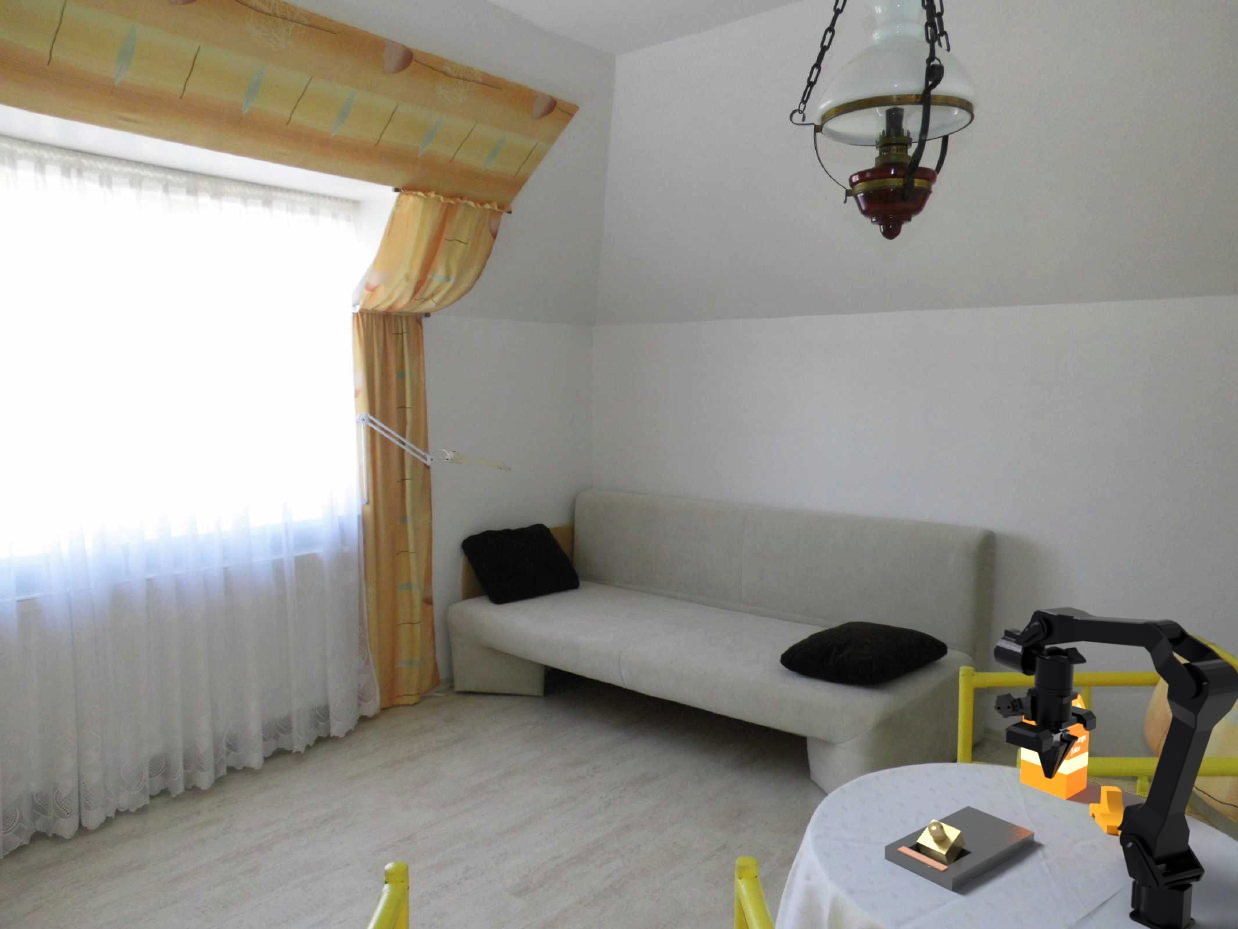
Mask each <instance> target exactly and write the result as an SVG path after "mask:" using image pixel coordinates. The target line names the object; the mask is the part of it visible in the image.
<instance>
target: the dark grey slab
mask: <svg viewBox="0 0 1238 929" xmlns="http://www.w3.org/2000/svg"><path fill="white" fill-rule="evenodd" d="M937 821H938V822H941V823H943V824H946V825H948V826H950V827H953V828H955V829H957V830H960V831H961V833H962V836H963V839H964V841H965V845H964V847H963V848H962V850H961V851H960V853H959V854H958V855H957V857H956V858H955V859H958V860H954V861H953V863H952V864H950V865H948V866H946V865H944V864H942V863H939V862H937V861H935V860H933V859H931V858H929V857H927V856H924V855H922V854H921V851H920V849H919V846H918V843H917V841H918V839H919V838H920V837H921V835H922V834H923V832H924V831H925V830H926V828H927V827H928V825H926V826H924V827H922V828H920V829H918V830H916V831H914V832H912V833H910V834H908V835H906V836H904V837H901V838H900V839H897V840H895V841H892V842H891V843H889V844H887V845H884V859H885V860H887V861H890V862H892V863H894V864H896V865H898V866H900V867H902V868H904V869H906V870H908V871H910V872H912V873H914V874H916V875H918V876H920V877H923V878H925V879H926V880H928V881H930V882H933V883H935V884H938V886H941V887H943V888H945V889H947V890H950V891H951V892H952V891H955V890H957V889H958V888H960V887H962V886H964V884H967V883H968V882H971V881H972V880H973V879H975V878H977V877H979V876H980V875H982V874H984V873H986V872H987V871H990V870H991V869H993V868H994V867H995V868H996V867H997V866H998V865H1000V864H1002V863H1004V862H1005V861H1006V860H1009V859H1010V858H1013V856H1015V855H1016V854H1018V853H1019V852H1021V851H1022V850H1025V849H1026V848H1028V846H1030V845H1032V844H1033V843H1035V831H1032V830H1030V829H1027V828H1024V827H1022V826H1020V825H1017V824H1015V823H1013V822H1011V821H1007V820H1004V819H1002V818H999V817H997V816H995V815H992V814H989V813H987V812H985V811H981V810H980V809H977V808H975V807H972V806H971V805H968V806H966V807H963V808H961V809H959V810H957V811H955V812H953V813H951V814H949V815H947V816H945V817H943V818H941V819H938V820H937Z"/></svg>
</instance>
